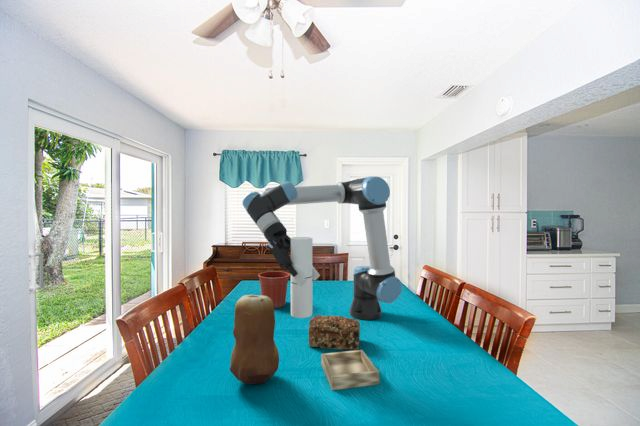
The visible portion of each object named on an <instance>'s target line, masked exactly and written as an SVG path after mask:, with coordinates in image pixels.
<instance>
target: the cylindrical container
mask: <svg viewBox="0 0 640 426" xmlns="http://www.w3.org/2000/svg"><path fill="white" fill-rule="evenodd" d="M290 239H291V247H290V248H291V252H290V259H291V262H292V265H293V264H295V265H296V266H297V268H298V269H299V271H300V272H301V273H302V275H303V276H304V277H305V279H306V281H305V283H304V284H303V285H302V286H300V285H299V284H298V282H297V281H296V280H295V278H294V277H293V276H292V275H291V274H290V316H291V317H293V318H297V319H306V318H309V317H313V316H312V315H313V279H312V265H313V237H311V236H310V237H307V236H297V237H295V236H294V237H290Z"/></svg>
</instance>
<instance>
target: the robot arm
mask: <svg viewBox="0 0 640 426" xmlns="http://www.w3.org/2000/svg"><path fill="white" fill-rule="evenodd" d="M390 196H391V191H390V186H389V184H388V182H387V181H386V180H385V179H383V178H382V177H381V176H374V175H373V176H368V177H362V178H356V179H353V180H349V181H340V182H337V183H336V184H327V185H324V184H323V185H307V186H306V185H304V186H303V185H302V186H295V185H294V184H293V182H291V181H290V180H289V181H288V180H287V181H285V182H283V183H281V184H279V185H277V186H273V187H268V188H266V189H264V190H263V191H262V193H260V192H258V191H253V192H252V191H251V192H249V193H247V194H246V195H245V196H244V197H243V199H242V206H243V207H244V209H245V211H246V213H247V214H248V215H249V217H250V218H251V219H252V221H253V222H254V223H255V225H256V226H257V228H258V229H259V230H260V232H261V234H263V236H264V238H265V239H266V241H267V242H268V243H267V245H266V247H267V249H268V250H270V252H271V254H272V256H273V257H274V259H275V261H276V262H277V264H278V266H279V267H280V269H282V270H284V272H287V271H288V273H289V274H290V276H291V275H292V276H293V277H294V278H295V280H296V281H297V282H298V284H299V285H300V286H302V285H303V284H304V283H305V281H306V279H305V277H304V276H303V275H302V273H301V272H300V271H299V269H298V268H297V266H296V265H295V264H293V265H292V262H291V255H290V254H289V253H291V237H290V236H288V234H287V232H288V230H287V228H286V227H285V225H284V224H283V223H282V222H281V220H280V219H279V218H278V216H277V215H276V213H275V212H276V211H277V210H279V209H281V208H283V207H284V206H290V205H308V204H309V205H310V204H319V203H336V202H337V203H338V204H351V205H358V211H359V213H362V214H363V221H364V222H363V223H364V231H365V237H366V238H365V239H366V244H367V253H368V260H369V265H362V266H356V267H354V269H353V275H352V276H353V298H352V301H351V304H350V307H349V315H350V316H351V317H352V318H354V319H359V320H365V321H366V320H367V321H371V320H378V319H380V318H382V313H383V312H382V308H381V305H380V302H381V303H385V304H391V303H393V302H395V301H396V300H398V298H399V296H401V294H402V290H403V283H402V281H401V280H400V278H398V277H397V276H396V271H395V268H394V267H393V266H392V265H391V260H390V253H389V245H388V237H387V230H386V223H385V215H384V211H385V209H386V208H387V201H388V200H389V198H390ZM320 276H321V275H320V273H319V272H318V271H317V270H316V268H315V266H314V265H313V264H312V281H313V282H315V281H316V280H317V279H318V278H319V277H320Z"/></svg>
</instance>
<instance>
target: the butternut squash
mask: <svg viewBox="0 0 640 426" xmlns="http://www.w3.org/2000/svg"><path fill="white" fill-rule="evenodd" d="M233 325H234V326H233V329H232V334H233V337H234V345H233V349H232V352H231V356H230V366H229V371H230V373H231V374H232V375H233V376H234V378H235V379H236V380H238V381H239V382H241V383H243V384H244V385H245V384H246V385H248V384H250V385H252V384H253V385H256V386H257V385H261V384H264V383H265V382H266V381H268V380H269V379H270V378H271V377H273V376H274V375H275V374H276V372H277V371H278V369H279V366H280V365H279V364H280V354H279V350H278V347H277V345H276V343H275V338H274V337H275V328H276V315H275V308H274V305H273V302H272V300H271V299H270V298H269V297H267V296H263V295H261V294H260V295H259V294H257V295H256V294H252V293H251V294H244V295H243V296H241V297H240V298H239V299H238V300H237V301H236V304H235V306H234V320H233Z"/></svg>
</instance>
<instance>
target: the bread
mask: <svg viewBox="0 0 640 426" xmlns="http://www.w3.org/2000/svg"><path fill="white" fill-rule="evenodd" d="M360 325H361V323H360V322H359V320H357V318H350V317H344V316H341V315H340V316H339V315H320V314H319V315H314V316H312V318H311V319H309V323H308V345H309V347H311V348H315V347H318V348H320V349H331V350H347V351H355V350H360V349H359V348H360V347H359V346H360V336H361V333H360V332H361V328H360V327H361V326H360Z"/></svg>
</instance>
